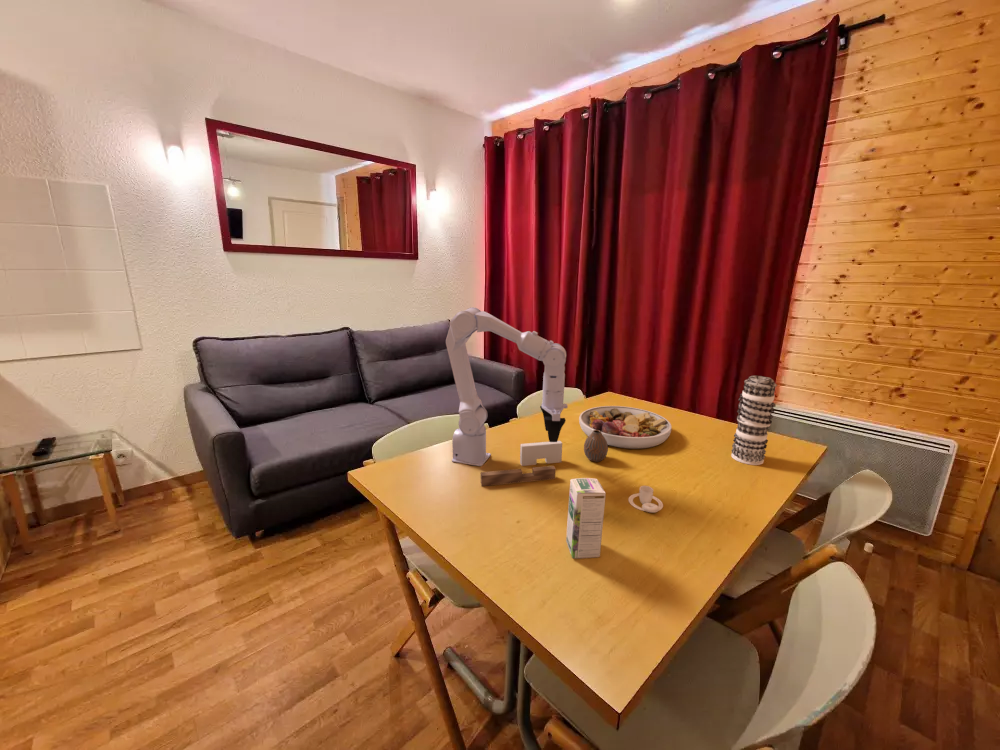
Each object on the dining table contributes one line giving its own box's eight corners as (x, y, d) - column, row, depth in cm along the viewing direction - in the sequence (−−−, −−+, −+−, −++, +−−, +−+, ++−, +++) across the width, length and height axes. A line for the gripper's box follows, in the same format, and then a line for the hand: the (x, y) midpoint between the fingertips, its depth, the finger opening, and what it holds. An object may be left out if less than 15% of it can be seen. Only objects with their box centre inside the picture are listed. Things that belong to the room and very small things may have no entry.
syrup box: (565, 540, 86) (568, 478, 82) (592, 539, 86) (597, 476, 83) (572, 559, 80) (575, 493, 77) (601, 557, 81) (606, 492, 77)
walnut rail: (481, 486, 107) (481, 475, 106) (480, 482, 109) (480, 472, 108) (555, 478, 111) (555, 468, 110) (553, 475, 113) (553, 465, 112)
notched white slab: (521, 465, 118) (522, 446, 116) (520, 462, 120) (520, 443, 118) (561, 462, 120) (562, 443, 119) (559, 459, 122) (560, 440, 120)
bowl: (598, 412, 162) (600, 393, 160) (679, 430, 145) (682, 409, 143) (563, 437, 138) (564, 415, 136) (654, 461, 121) (657, 437, 119)
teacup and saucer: (659, 518, 94) (661, 503, 93) (624, 509, 98) (625, 493, 97) (665, 500, 102) (667, 485, 101) (632, 492, 105) (633, 477, 104)
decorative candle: (722, 454, 126) (734, 375, 119) (745, 450, 129) (759, 372, 122) (748, 467, 117) (763, 383, 111) (772, 463, 120) (788, 380, 114)
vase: (607, 465, 119) (609, 437, 116) (583, 462, 120) (584, 435, 118) (606, 454, 125) (608, 427, 123) (583, 452, 127) (584, 426, 124)
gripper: (573, 397, 105) (570, 447, 108) (563, 382, 119) (561, 426, 122) (545, 397, 105) (543, 446, 108) (539, 381, 119) (537, 426, 122)
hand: (551, 435), depth 115 cm, fingers open, 7 cm apart
